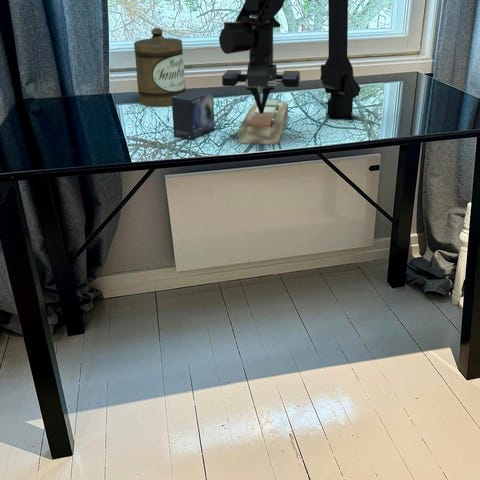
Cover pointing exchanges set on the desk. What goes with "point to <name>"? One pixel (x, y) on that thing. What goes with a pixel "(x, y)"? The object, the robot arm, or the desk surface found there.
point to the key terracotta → (261, 121)
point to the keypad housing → (263, 133)
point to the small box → (193, 113)
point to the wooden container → (159, 69)
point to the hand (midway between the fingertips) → (261, 113)
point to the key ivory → (266, 111)
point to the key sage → (272, 104)
